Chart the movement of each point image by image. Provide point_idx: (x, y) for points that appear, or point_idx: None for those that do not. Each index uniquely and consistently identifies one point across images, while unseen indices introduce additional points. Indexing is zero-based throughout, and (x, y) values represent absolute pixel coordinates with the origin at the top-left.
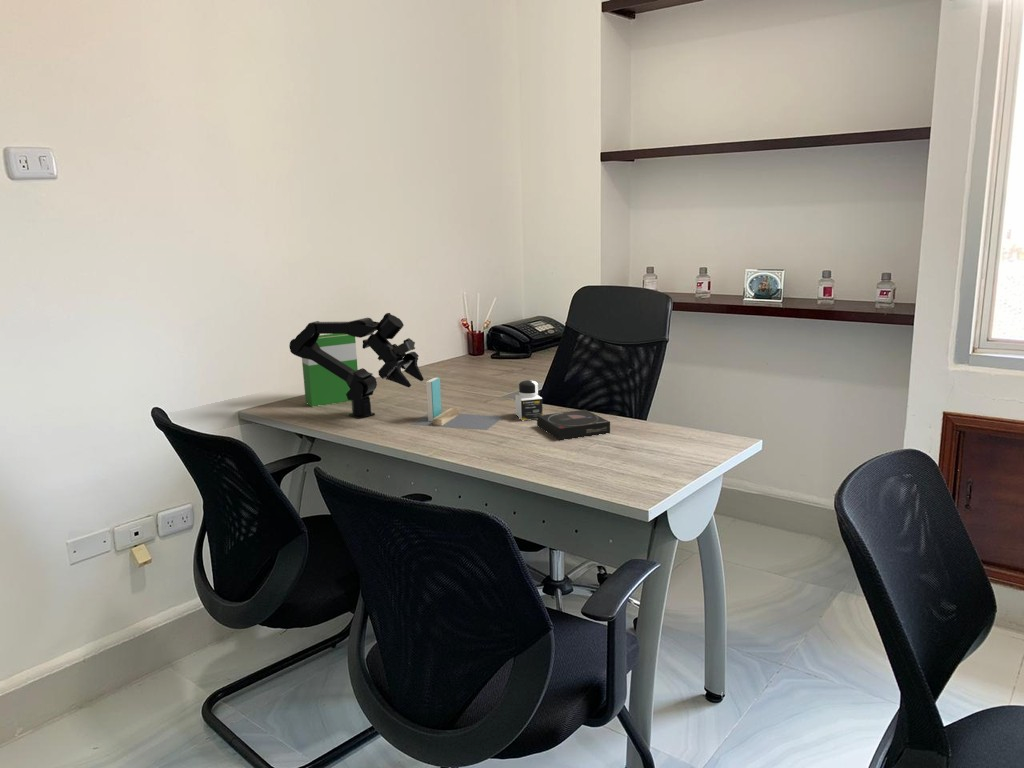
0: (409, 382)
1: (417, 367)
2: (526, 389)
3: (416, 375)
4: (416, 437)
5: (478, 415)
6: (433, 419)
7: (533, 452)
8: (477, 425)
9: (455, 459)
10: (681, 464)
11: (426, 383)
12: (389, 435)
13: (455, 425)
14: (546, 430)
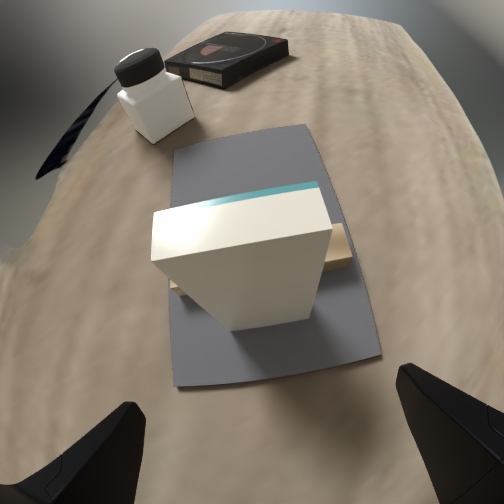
0: (415, 380)
1: (47, 477)
2: (161, 58)
3: (122, 472)
4: (453, 245)
5: (177, 203)
6: (351, 254)
7: (358, 61)
8: (281, 153)
9: (461, 119)
10: (301, 15)
11: (329, 237)
12: (482, 333)
13: None
14: (254, 69)
